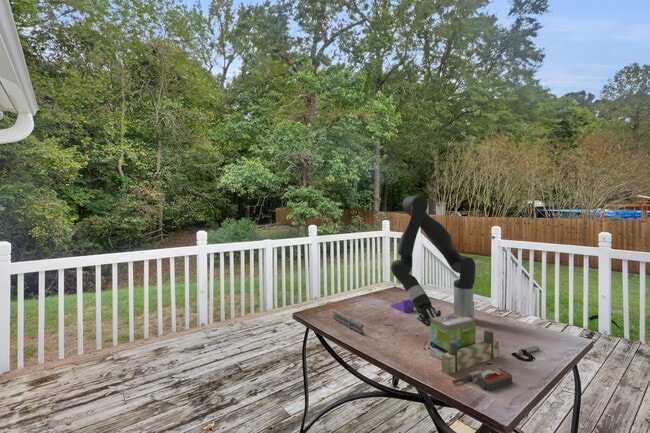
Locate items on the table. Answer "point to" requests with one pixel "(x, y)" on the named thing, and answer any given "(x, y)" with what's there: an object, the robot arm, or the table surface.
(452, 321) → the tea box
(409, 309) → the bracket
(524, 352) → the micrometer
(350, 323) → the metal rod assembly
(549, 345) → the table surface
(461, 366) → the bench stop
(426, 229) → the robot arm
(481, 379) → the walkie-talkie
